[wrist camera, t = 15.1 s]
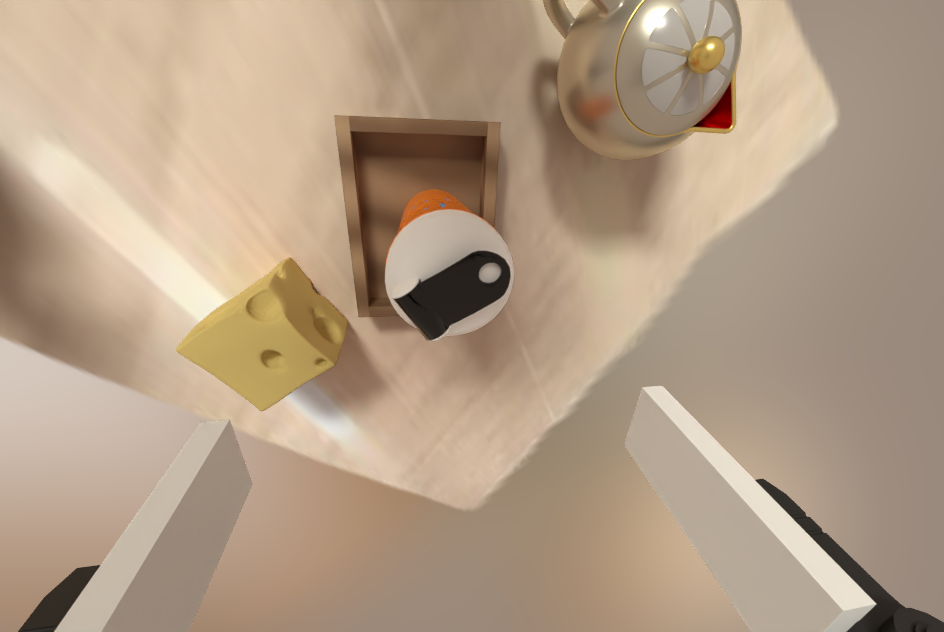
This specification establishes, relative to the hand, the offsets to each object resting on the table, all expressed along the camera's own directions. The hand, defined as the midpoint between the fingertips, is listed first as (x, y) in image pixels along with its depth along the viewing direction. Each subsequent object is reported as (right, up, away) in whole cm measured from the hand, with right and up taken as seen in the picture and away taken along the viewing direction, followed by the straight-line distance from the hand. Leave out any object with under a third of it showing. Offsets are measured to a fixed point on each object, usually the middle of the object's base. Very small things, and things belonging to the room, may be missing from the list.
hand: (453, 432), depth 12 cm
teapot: (+12, +29, +25) cm, 40 cm away
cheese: (-21, +4, +32) cm, 38 cm away
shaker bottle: (-3, +14, +28) cm, 32 cm away
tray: (-5, +15, +29) cm, 33 cm away
